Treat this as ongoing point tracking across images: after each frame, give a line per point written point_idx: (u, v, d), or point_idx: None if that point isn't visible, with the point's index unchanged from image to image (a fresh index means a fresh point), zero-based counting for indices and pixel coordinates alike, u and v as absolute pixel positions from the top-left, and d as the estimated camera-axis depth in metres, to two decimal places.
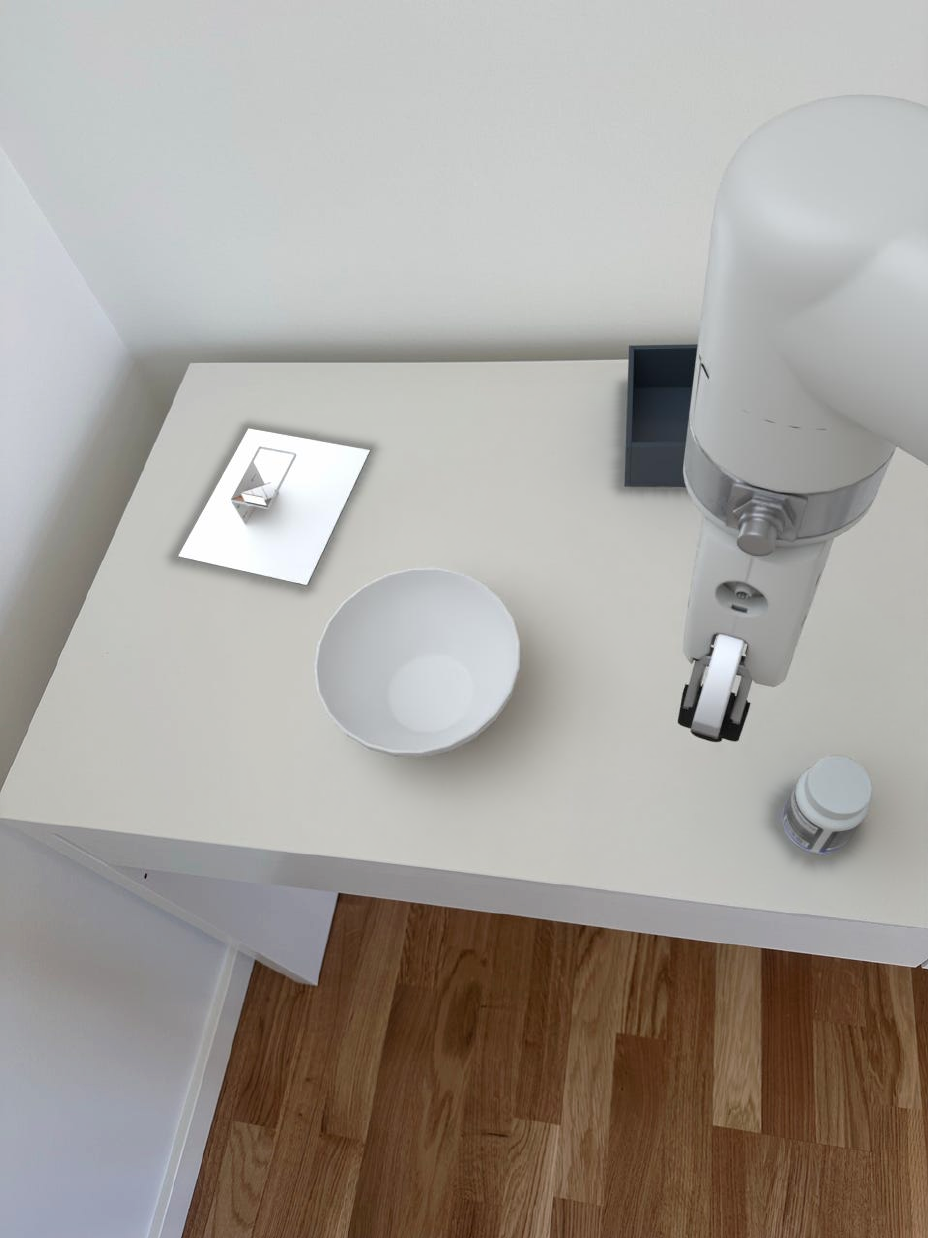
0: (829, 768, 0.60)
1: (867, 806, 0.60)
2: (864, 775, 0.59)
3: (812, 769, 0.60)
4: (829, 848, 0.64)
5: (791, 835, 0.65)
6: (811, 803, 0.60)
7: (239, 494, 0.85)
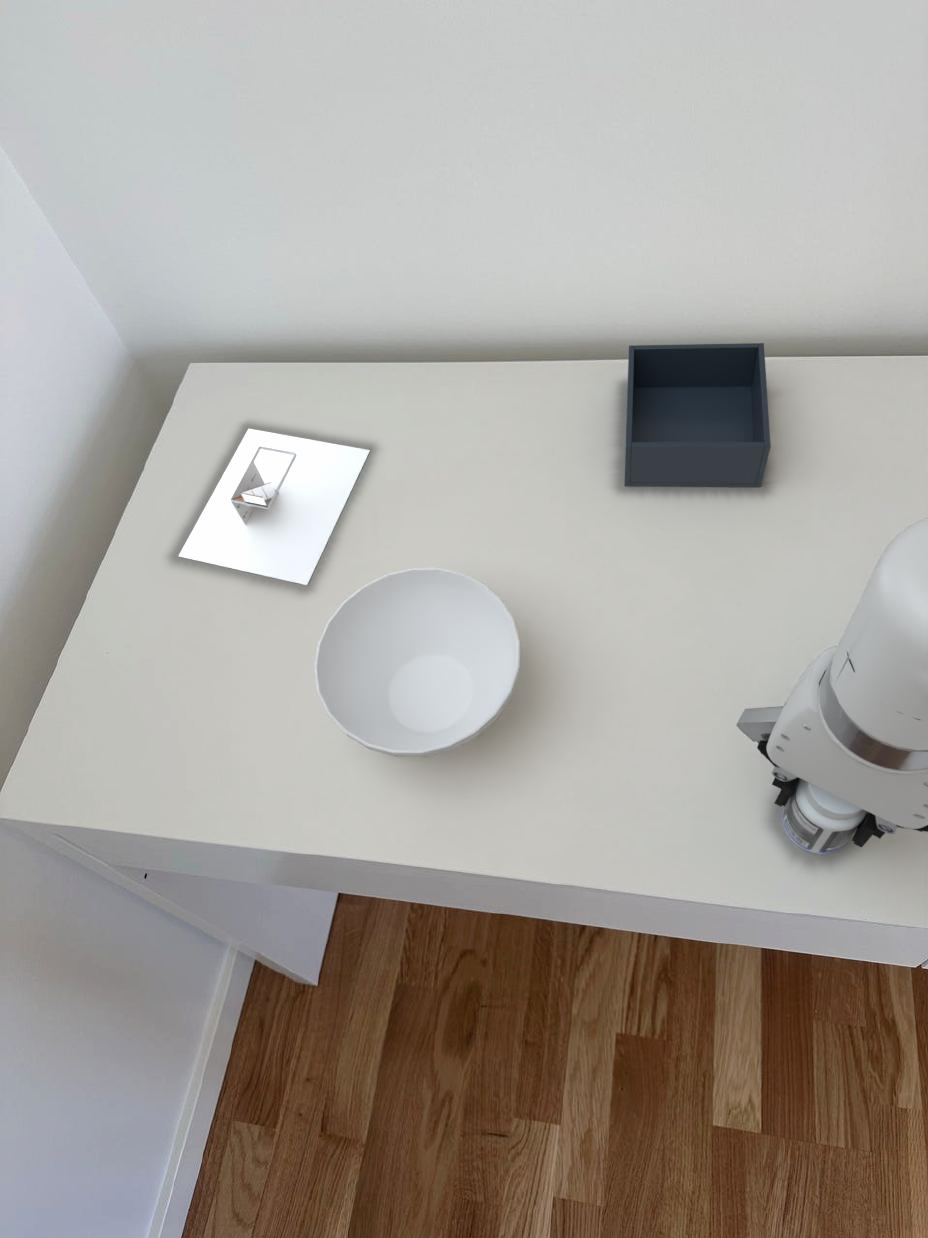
0: None
1: None
2: None
3: None
4: (829, 848, 0.64)
5: (791, 835, 0.65)
6: (811, 803, 0.60)
7: (239, 494, 0.85)
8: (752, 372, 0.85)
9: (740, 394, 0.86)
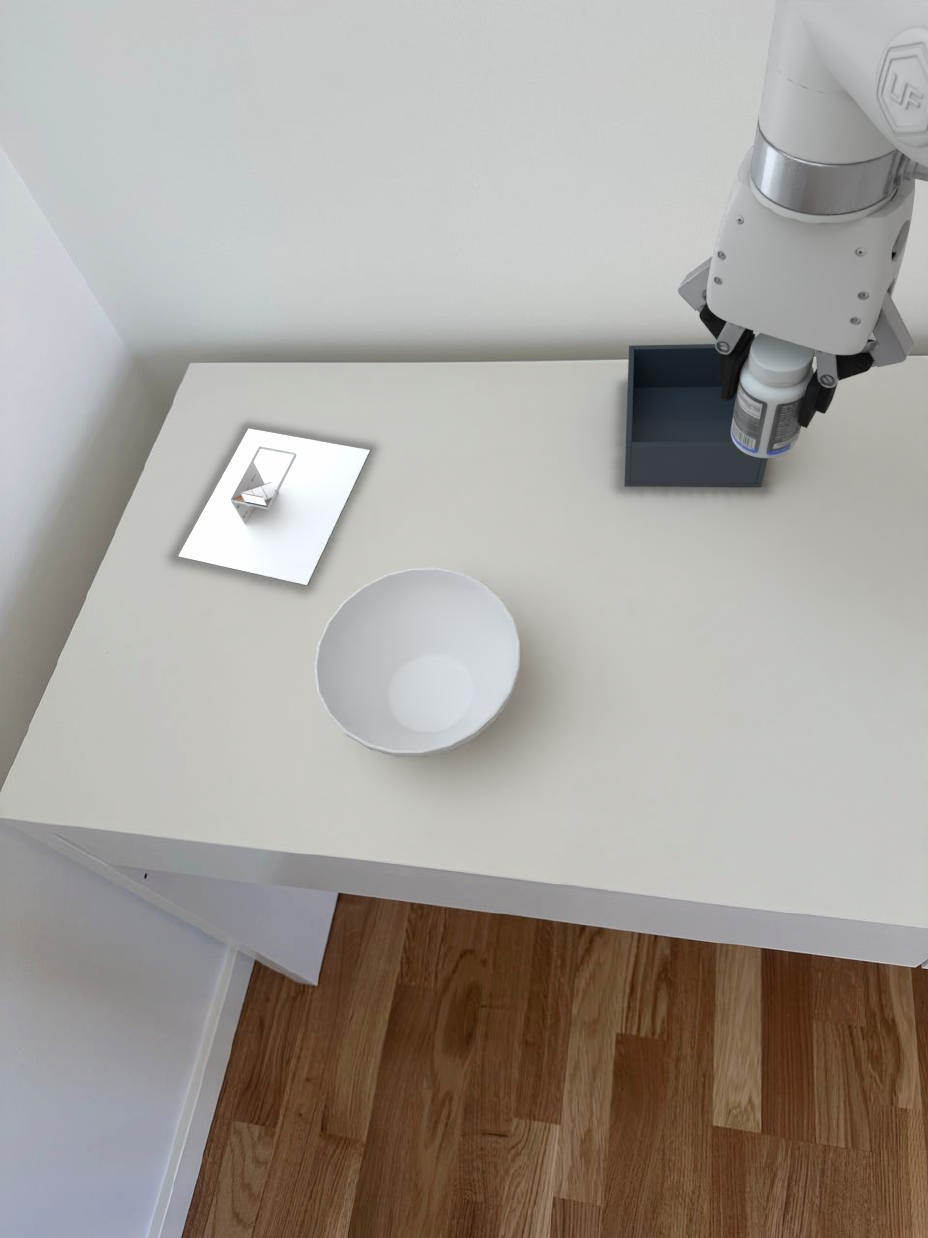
0: None
1: None
2: None
3: (755, 338, 0.59)
4: (776, 444, 0.63)
5: (739, 440, 0.65)
6: (754, 372, 0.59)
7: (239, 494, 0.85)
8: None
9: None
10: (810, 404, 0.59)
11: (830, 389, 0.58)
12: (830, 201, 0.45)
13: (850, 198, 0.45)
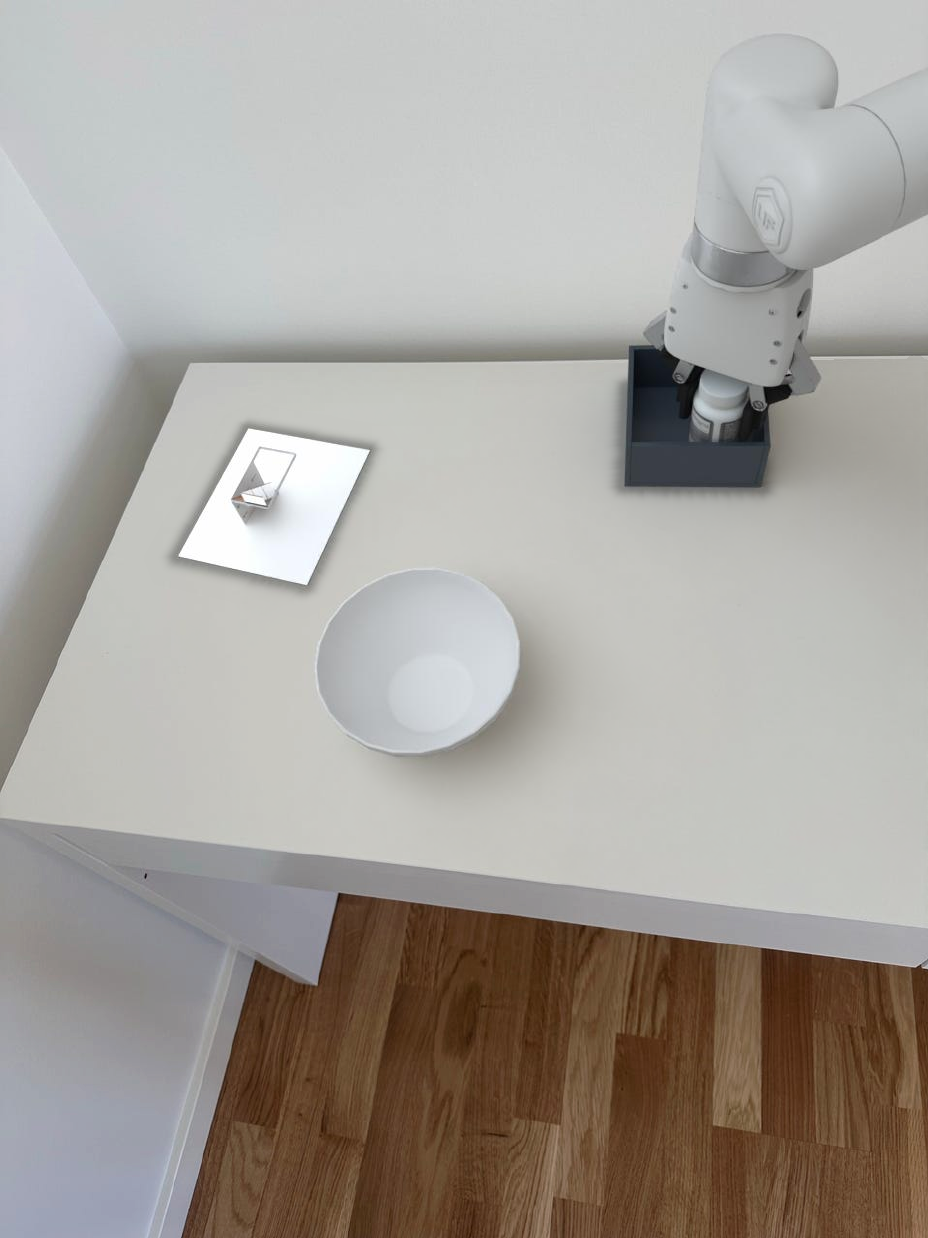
0: None
1: None
2: None
3: (704, 371, 0.76)
4: None
5: None
6: (703, 397, 0.76)
7: (239, 494, 0.85)
8: None
9: None
10: (746, 423, 0.75)
11: (761, 412, 0.75)
12: (746, 277, 0.62)
13: (761, 275, 0.62)
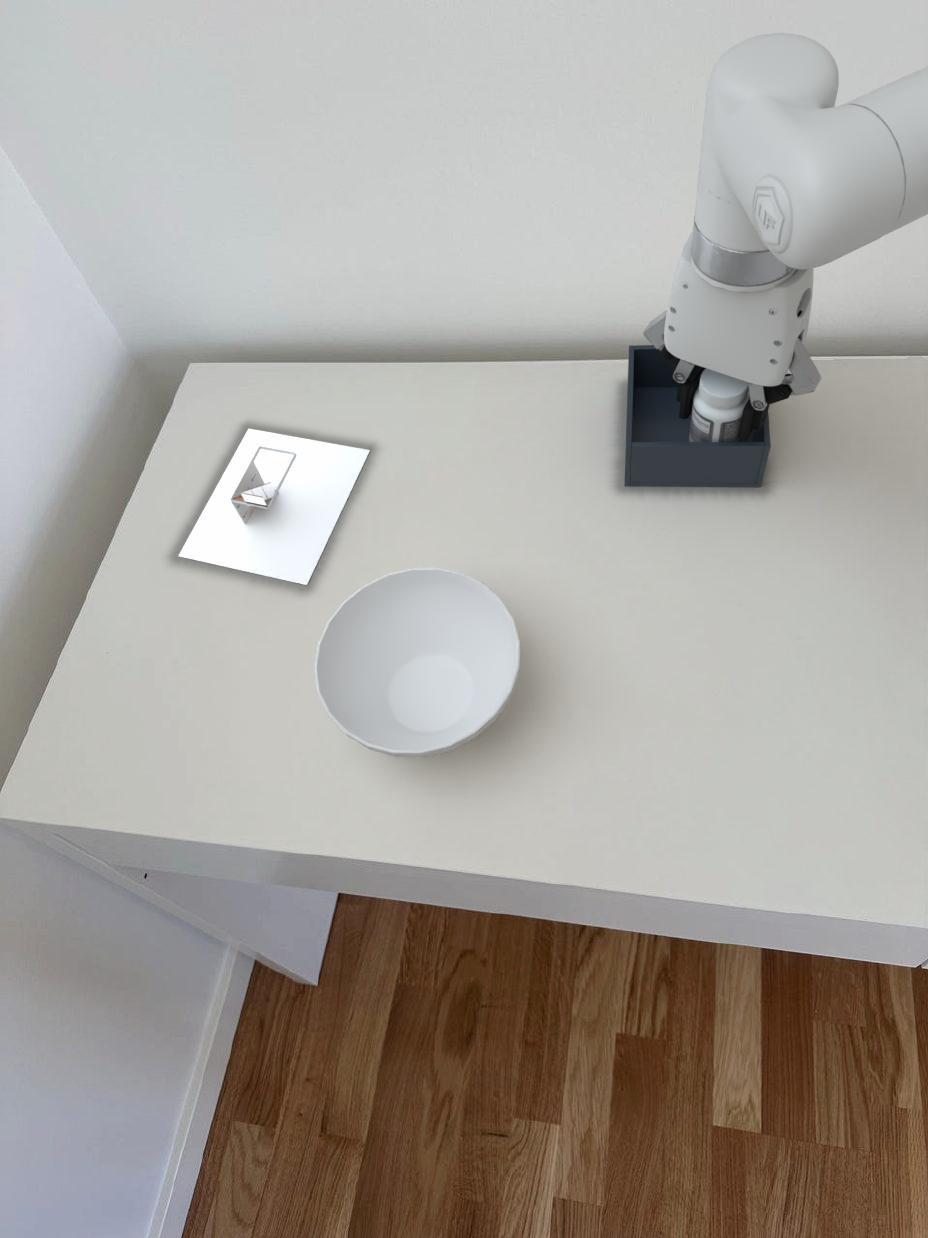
0: None
1: None
2: None
3: (704, 371, 0.76)
4: None
5: None
6: (703, 397, 0.76)
7: (239, 494, 0.85)
8: None
9: None
10: (746, 423, 0.75)
11: (761, 411, 0.75)
12: (746, 276, 0.62)
13: (761, 275, 0.62)
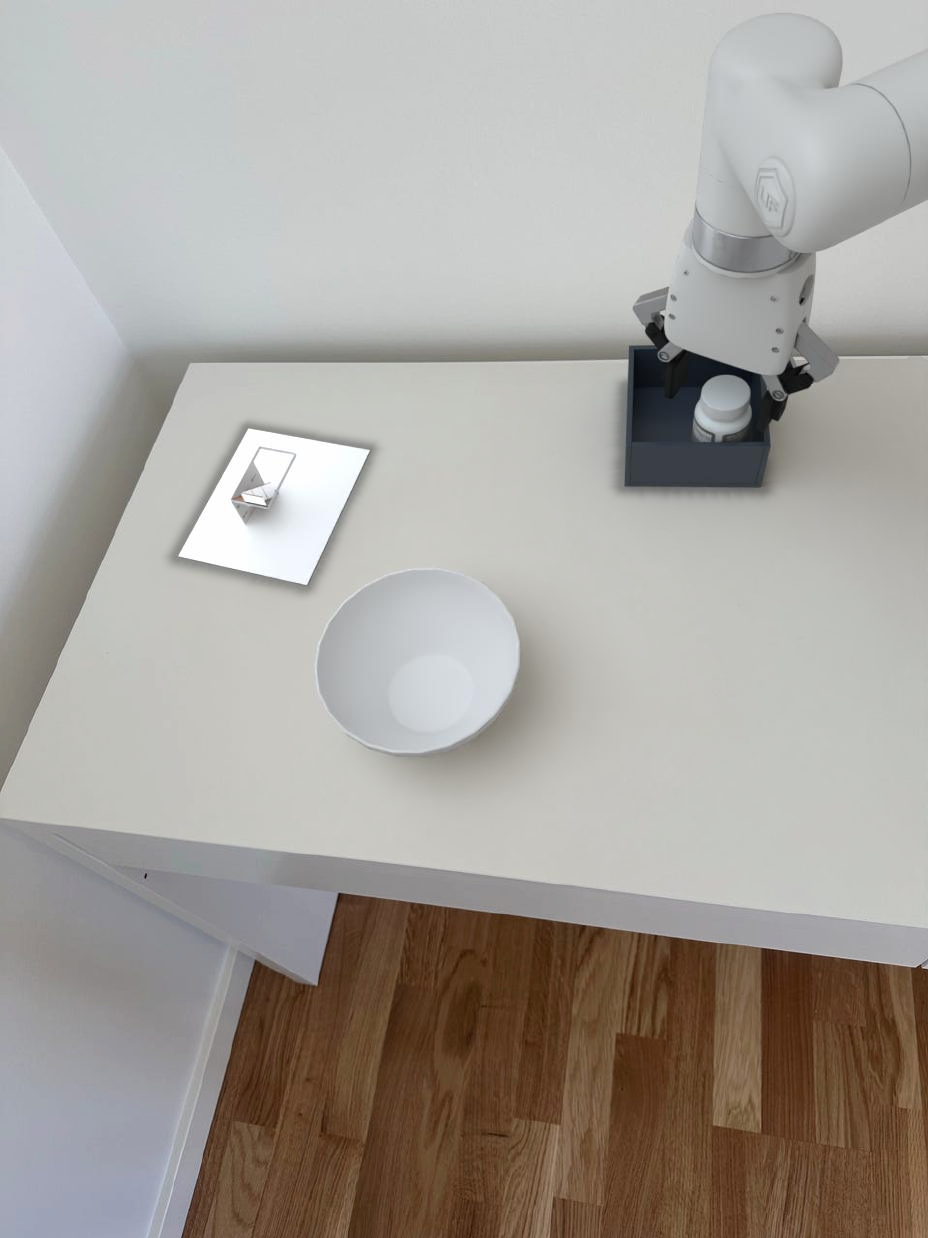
0: (718, 382, 0.77)
1: (749, 414, 0.77)
2: (744, 385, 0.76)
3: (705, 384, 0.77)
4: None
5: None
6: (704, 410, 0.77)
7: (239, 494, 0.85)
8: (752, 372, 0.85)
9: None
10: (765, 413, 0.73)
11: (781, 402, 0.73)
12: (748, 262, 0.61)
13: (763, 260, 0.61)
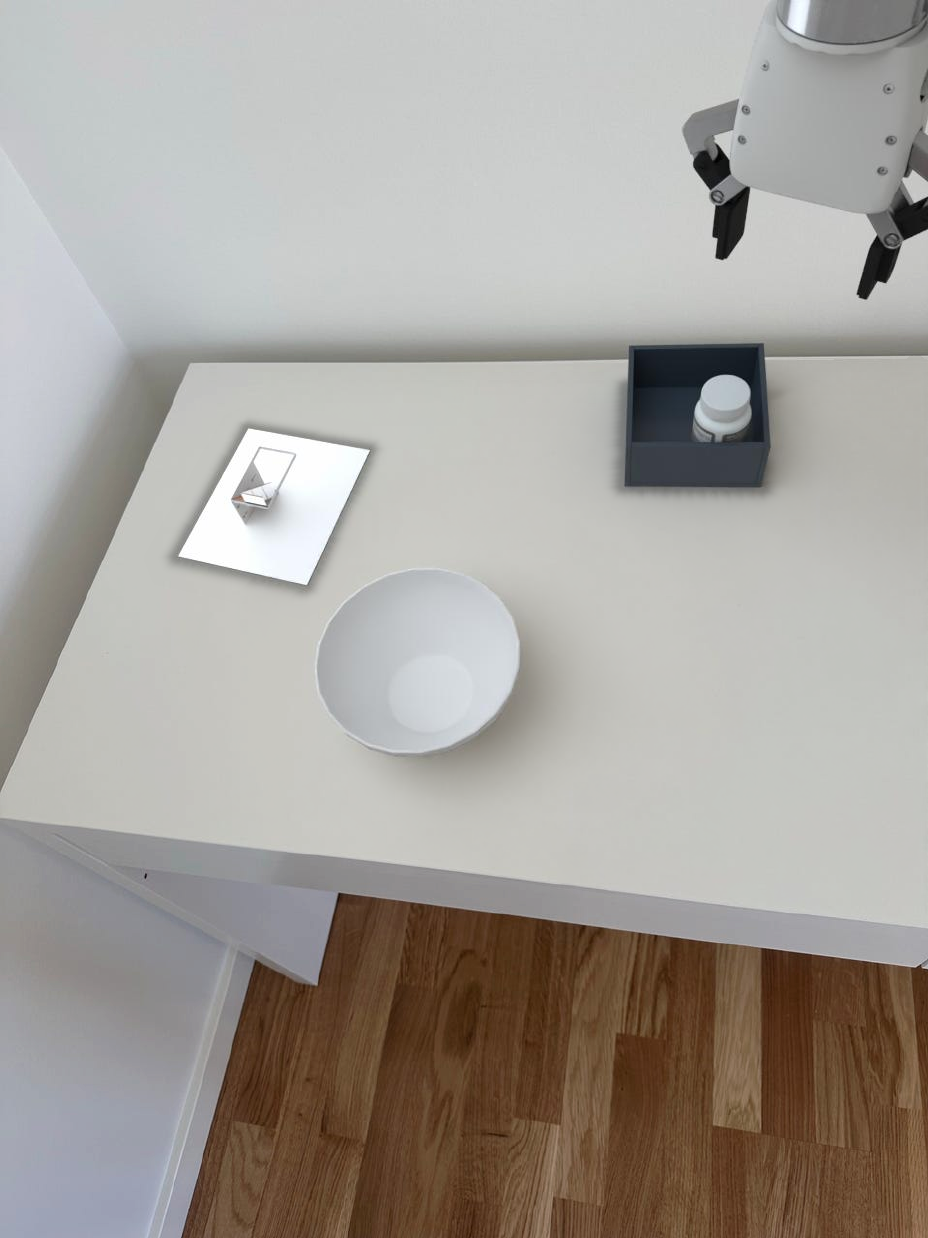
0: (718, 382, 0.77)
1: (749, 414, 0.77)
2: (744, 385, 0.76)
3: (705, 384, 0.77)
4: None
5: None
6: (704, 410, 0.77)
7: (239, 494, 0.85)
8: (752, 372, 0.85)
9: None
10: (872, 270, 0.57)
11: (893, 252, 0.56)
12: (858, 27, 0.45)
13: (879, 23, 0.45)
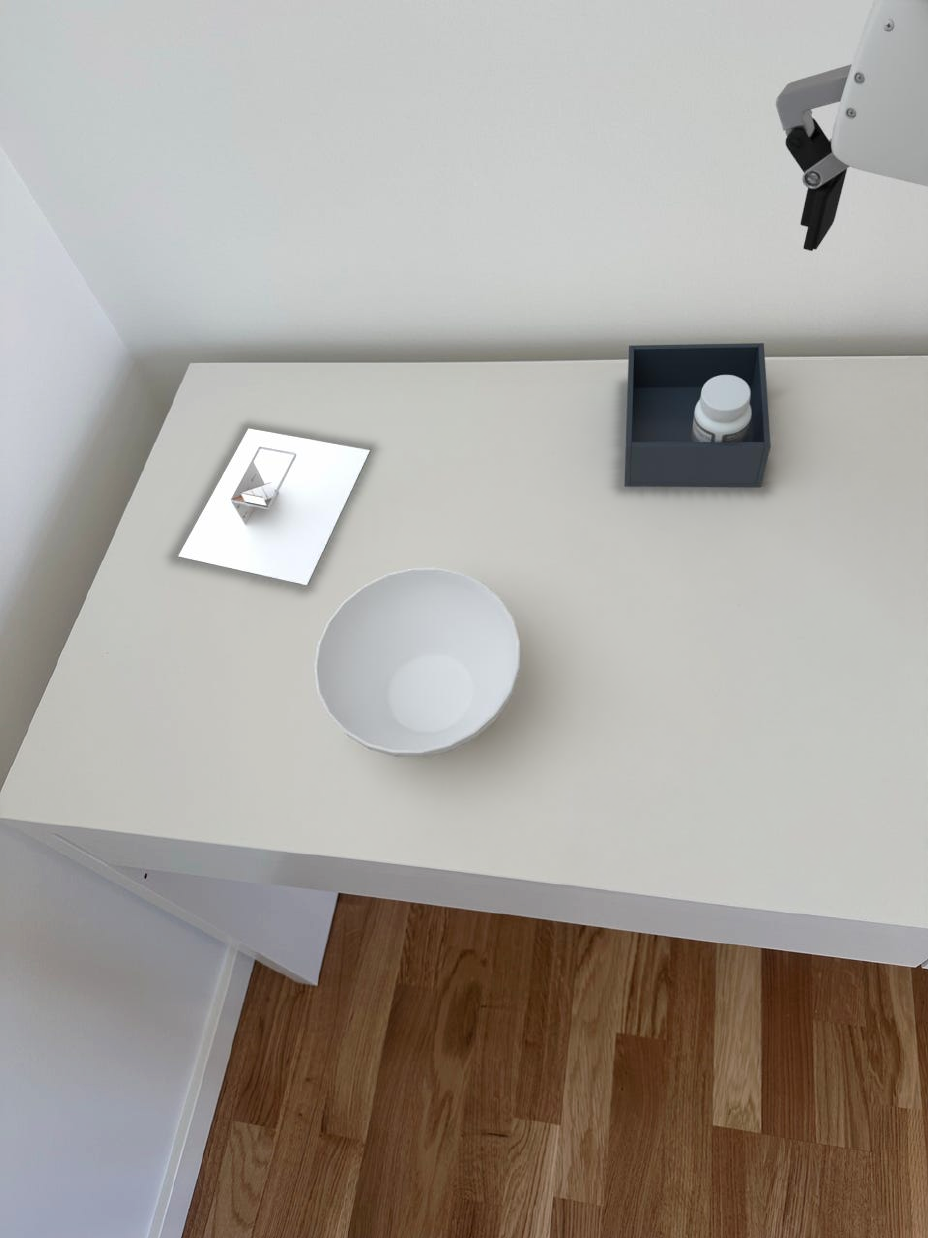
0: (718, 382, 0.77)
1: (749, 414, 0.77)
2: (744, 385, 0.76)
3: (705, 384, 0.77)
4: None
5: None
6: (704, 410, 0.77)
7: (239, 494, 0.85)
8: (752, 372, 0.85)
9: None
10: None
11: None
12: None
13: None
